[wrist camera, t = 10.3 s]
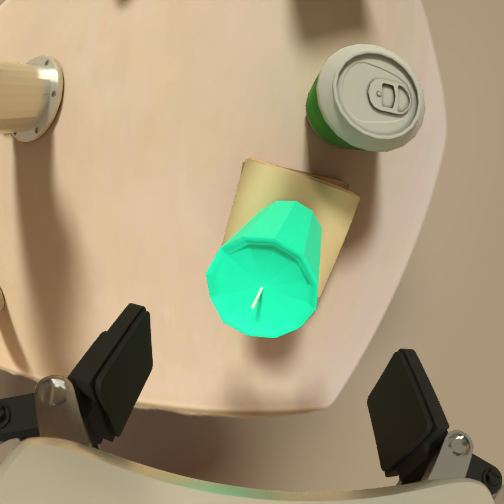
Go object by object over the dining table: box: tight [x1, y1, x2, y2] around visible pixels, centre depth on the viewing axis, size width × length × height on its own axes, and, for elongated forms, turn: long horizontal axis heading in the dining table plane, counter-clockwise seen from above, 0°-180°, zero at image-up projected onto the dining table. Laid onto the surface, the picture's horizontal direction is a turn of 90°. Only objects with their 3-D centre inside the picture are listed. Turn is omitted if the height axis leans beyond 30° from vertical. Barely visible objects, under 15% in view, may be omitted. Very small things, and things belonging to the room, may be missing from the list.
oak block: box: [222, 158, 360, 298], centre depth 26 cm, size 10×10×3 cm
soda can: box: [306, 44, 425, 152], centre depth 20 cm, size 8×8×12 cm
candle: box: [206, 201, 322, 338], centre depth 19 cm, size 6×6×12 cm
